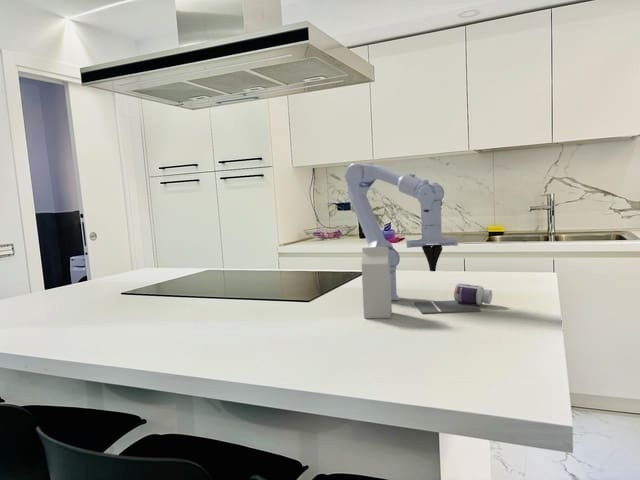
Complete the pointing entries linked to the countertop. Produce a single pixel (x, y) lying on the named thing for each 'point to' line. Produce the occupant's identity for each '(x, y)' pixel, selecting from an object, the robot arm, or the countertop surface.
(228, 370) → the countertop surface
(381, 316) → the milk carton
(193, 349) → the countertop surface
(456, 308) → the mat
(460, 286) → the pill bottle
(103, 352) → the countertop surface
